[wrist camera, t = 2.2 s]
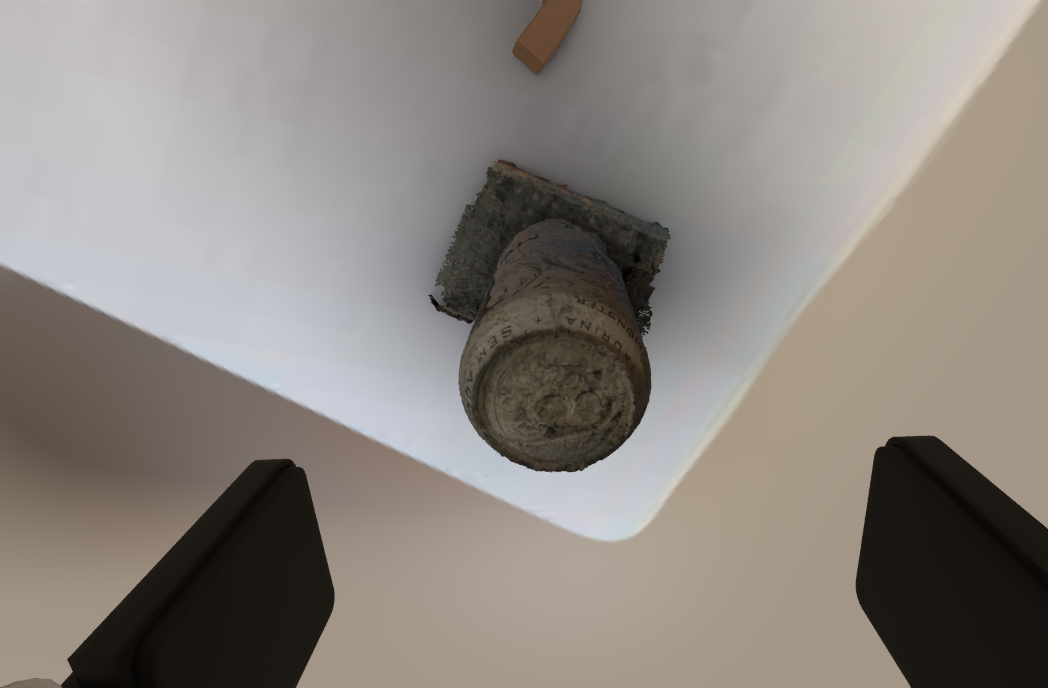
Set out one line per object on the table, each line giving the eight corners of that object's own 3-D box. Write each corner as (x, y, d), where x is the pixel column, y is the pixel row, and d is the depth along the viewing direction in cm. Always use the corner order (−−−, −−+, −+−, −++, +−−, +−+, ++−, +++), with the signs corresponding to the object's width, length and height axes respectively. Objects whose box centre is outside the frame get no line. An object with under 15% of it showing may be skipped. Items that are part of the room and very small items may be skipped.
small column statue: (685, 195, 22) (783, 295, 11) (632, 374, 25) (666, 595, 14) (449, 147, 22) (308, 196, 11) (427, 331, 25) (299, 514, 14)
